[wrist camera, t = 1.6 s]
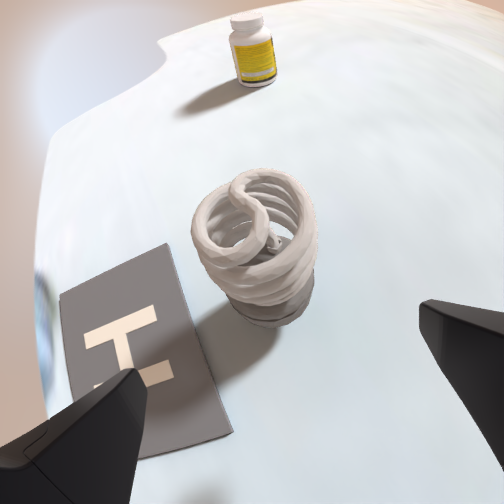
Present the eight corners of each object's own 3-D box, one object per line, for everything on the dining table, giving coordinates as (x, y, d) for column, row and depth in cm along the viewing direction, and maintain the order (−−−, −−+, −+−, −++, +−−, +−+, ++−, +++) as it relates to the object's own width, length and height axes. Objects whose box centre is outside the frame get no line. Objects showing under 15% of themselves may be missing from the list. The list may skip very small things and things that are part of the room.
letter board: (233, 431, 18) (231, 432, 18) (96, 466, 18) (91, 466, 17) (169, 246, 27) (166, 242, 26) (63, 297, 26) (58, 294, 25)
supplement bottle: (285, 79, 37) (276, 15, 29) (249, 92, 36) (234, 26, 28) (266, 66, 40) (255, 8, 31) (232, 78, 39) (217, 19, 31)
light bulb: (244, 266, 24) (196, 152, 14) (317, 270, 23) (319, 148, 13) (232, 338, 22) (160, 258, 11) (311, 345, 21) (316, 267, 10)
